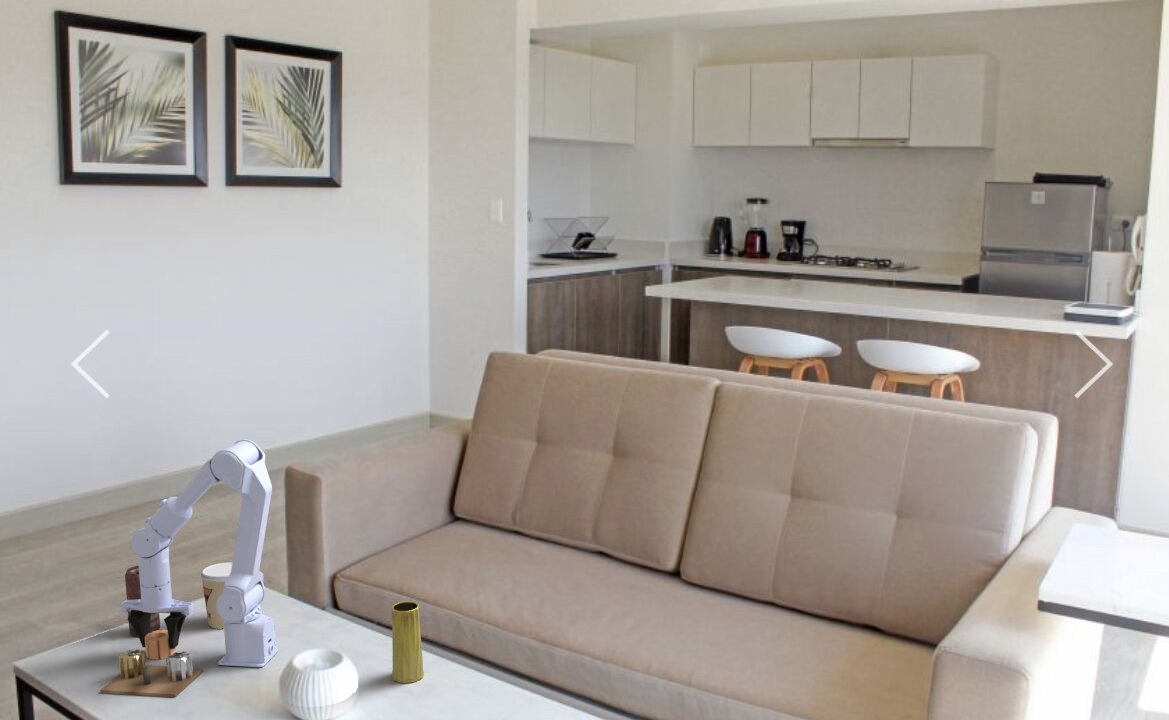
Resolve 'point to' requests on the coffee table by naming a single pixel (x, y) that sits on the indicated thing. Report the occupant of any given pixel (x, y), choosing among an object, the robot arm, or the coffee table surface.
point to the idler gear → (158, 645)
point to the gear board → (150, 683)
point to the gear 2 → (179, 666)
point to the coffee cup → (214, 590)
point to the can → (138, 597)
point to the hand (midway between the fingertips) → (160, 646)
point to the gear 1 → (131, 664)
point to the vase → (406, 642)
